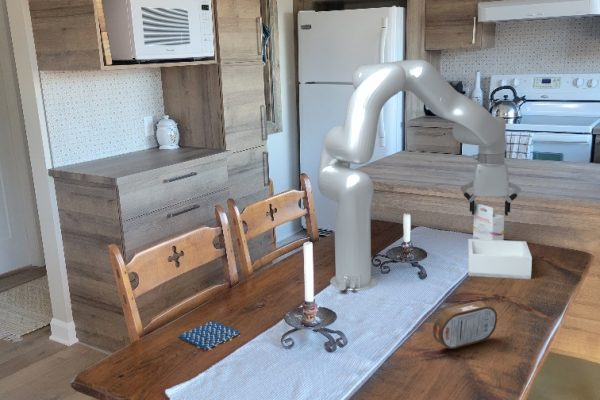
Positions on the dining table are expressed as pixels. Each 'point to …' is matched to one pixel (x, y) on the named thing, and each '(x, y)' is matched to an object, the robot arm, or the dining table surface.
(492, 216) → the ink cartridge box
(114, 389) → the dining table surface
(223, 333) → the woven mat
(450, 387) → the dining table surface
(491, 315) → the tin
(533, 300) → the dining table surface
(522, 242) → the walled box
